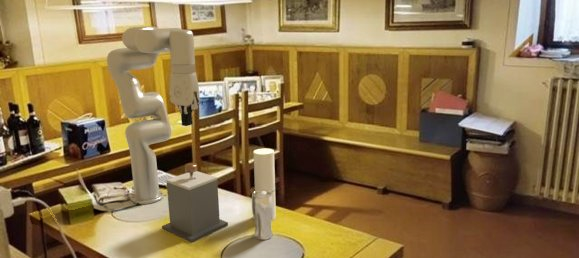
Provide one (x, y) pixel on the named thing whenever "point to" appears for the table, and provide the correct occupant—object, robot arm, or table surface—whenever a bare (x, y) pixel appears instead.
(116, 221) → the table surface
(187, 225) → the block
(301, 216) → the table surface
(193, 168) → the plunger
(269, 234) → the beer glass
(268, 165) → the cylindrical container
